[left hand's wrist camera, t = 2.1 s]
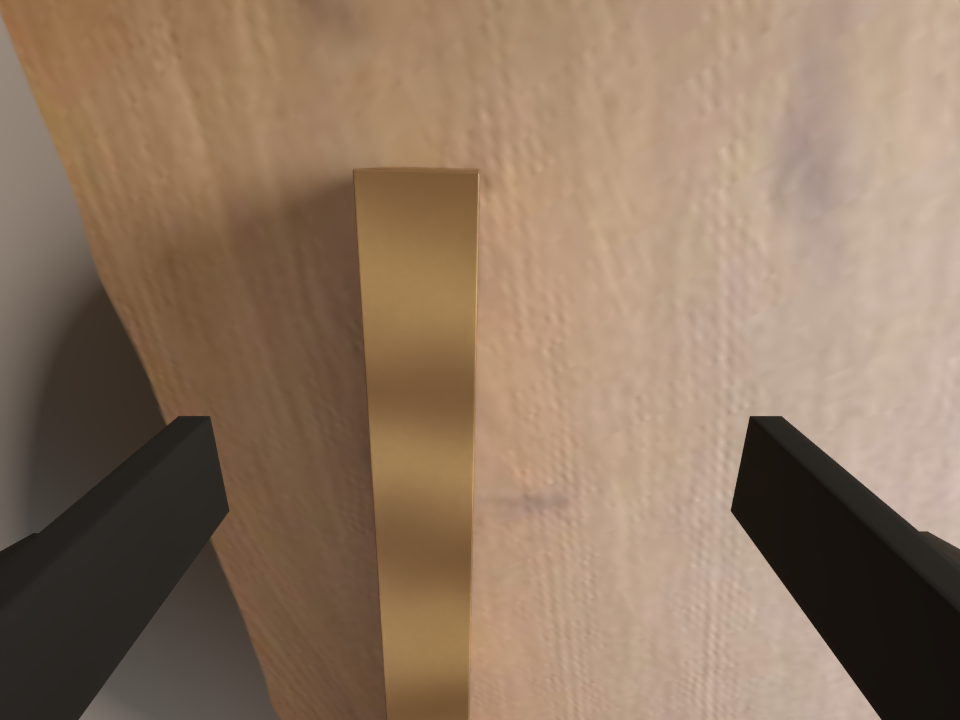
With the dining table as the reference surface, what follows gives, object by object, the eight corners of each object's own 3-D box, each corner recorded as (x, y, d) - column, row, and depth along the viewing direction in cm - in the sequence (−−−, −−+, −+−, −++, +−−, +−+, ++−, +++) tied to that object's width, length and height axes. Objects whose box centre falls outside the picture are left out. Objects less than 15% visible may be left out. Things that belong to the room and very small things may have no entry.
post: (387, 166, 25) (352, 169, 18) (480, 169, 25) (479, 171, 18) (414, 840, 44) (401, 965, 38) (466, 840, 44) (464, 966, 38)
